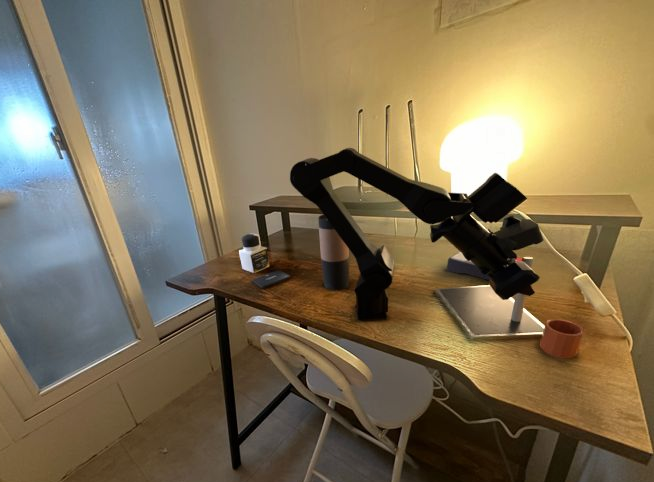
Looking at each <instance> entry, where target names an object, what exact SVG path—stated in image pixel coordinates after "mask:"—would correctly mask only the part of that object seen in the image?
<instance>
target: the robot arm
mask: <svg viewBox="0 0 654 482" xmlns="http://www.w3.org/2000/svg"><path fill="white" fill-rule="evenodd" d="M341 173H346V174H349V175H350V176H353V177H354V178H357V179H358V180H360V181H362V182H364V183H365V184H368V185H369V186H372V187H373V188H375V189H377V190H379V191H381V192H383V193H385V194H387V195H388V196H390V197H392V198H394V199H396V200H397V201H398V202H400V203H401V204H402V205H403V206H404V208H406V209H407V210H408V211H409V212H410V213H412V215H414V216H415V217H417V218H418V219H419V220H420V221H422V222H423V223H424V224H427V225H429V228H430V233H429V236H430V237H429V238H430V241H431V243H433V244H434V243H436V242H437V241H439V240H440V239H441V238H442V237H443V238H444V239H445V240H446V241H447V242H448V243H450V244H451V245H452V246H453V247H454V248H455V249H457V250H458V252H461V253H462V254H463V256H464V257H465V258H466V259H467V260H468V261H471V262H472V263H474V264H475V265H476V266H477V267H478V269H479V270H480V272H481V273H483V274H484V275H485V274H487V276H489V277H491V278H490V280H489V284H488V285H490V286H491V287H492V289H493V290H494V292H495V293H496V294H497V295H498V296H499V297H500V298H501V299H502V300H508V299H509V298H513V297H515V295H516V294H517V293H520V294H523V295H526V297H531V296H533V295H534V294H535V293H536V292H535V290H534V289H533V287H532V285H533V284H535V283H538V281H539V280H540V278H541V276H539V275H538V273H537V272H535V271H534V270H533V268H530V267H529V266H528V265H527V264H526V263H524V262H517V261H516V260H517V257H518V254H517V253H516V252H515V251H519V250H521V249H524V248H528V247H530V246H533V245H538V244H541V243H542V242H543V241H544V237H543V234H542V231H541V229H540V226H539V223H537V222H536V221H534V220H532V219H530V218H528V219H527V218H525V217H523V218H522V219H521V220H520V219H518V218H517V217H516V216H514V215H509V214H510V213H511V212H513V211H515V209H517V208H519V207H520V206H521V205H522V204H524V203H525V202H526V201H528V200H529V198H528V197H527V196H525V194H524V193H523V192H521V191H520V190H519V189H518V188H517V187H516V186H514V185H513V184H512V183H510V182H509V181H507V180H506V179H505V178H503V177H502V175H500V174H499V173H498V172H493V174H491V175H490V176H489V177H488V178H487V179H486V180H485V182H483V183H482V184H481V185H480V186H479V187H477V188H476V189H475V190H474V191H473V192H471V193H470V194H467V193H463V192H450V191H449V192H448V190H446V189H445V188H443V187H442V186H441V187H440V186H437V185H434V184H431V183H429V182H423V181H419V180H414V179H411V178H408V177H406V176H404V175H402V174H401V173H398V172H396V171H394V170H393V169H391V168H389V167H387V166H386V165H383V164H382V163H379V162H377V161H375V160H374V159H372V158H369V157H368V156H366V155H364V154H362V153H360V152H359V151H358V150H357V149H356V148H353V147H346V148H343V149H342V150H340V151H339V152H337V153H334V154H331V155H328V156H325V157H323V158H321V159H318V158H315V157H309V158H305V159H303V160H301V161H300V160H299V161H298V162H296V163H294V164H293V166H292V167H291V169H290V171H289V182H290V184H291V185H292V187H294V190H296V191H297V192H298V193H299V194H300V195H301V196H302V197H303V198H305V199H306V200H307V201H309V202H311V203H313V205H315V206H316V207H317V208H318V209H319V211H320V212H321V213H322V215H323V214H324V216H325V217H326V218H327V220H328V221H329V223H330V224H331V225H332V227H333V228H334V229H335V231H336V232H337V233H338V235H339V236H340V237H341V239H342V240H343V242H344V243H345V244H346V246H347V247H348V248H349V252H350V253H351V254H352V255H353V257H354V258H355V261H356V265H357V268H358V271H359V276H358V279H357V281H356V284H355V287H354V289H353V290H354V293H355V305H354V308H355V313H356V317H357V320H358V321H374V320H375V321H376V320H387V319H388V315H387V313H388V312H389V295H388V294H387V291H386V290H387V289H388V288H390V287H391V285H392V284H393V281H394V272H395V263H394V262H395V257H394V256H392V255H391V254H390V253H389V251H388V250H387V247H386V245H384V244H383V245H381V246H380V247H379V248H378V247H377V246H375V245H374V244H372V242H371V241H370V240H369V238H368V237H367V236H366V234H365V233H364V232H363V230H362V229H361V227H360V225H359V224H358V223H357V222H356V220H355V219H354V217H353V216H352V215H351V213H350V212H349V211H348V209H347V208H346V207H345V205H344V204H343V202H342V201H341V200H340V198H339V196H337V194H336V193H335V191H334V188H333V185H332V181H331V177H333V176H336V175H338V174H341ZM471 214H475V216H476V217H477V218H478V219H480V220H481V221H482V222H483V223H484V224H487V223H490V224H493V223H495V224H497V223H498V222H499V221H501V220H502V219H503V221H502V225H501V227H499V229H498V230H496V231H494V232H493V230H491V229H490V228H486V227H485V226H483V225H482V223H481V222H479V221H478V220H477V219H476V218H475V217H474V216H473V215H471ZM507 215H509V216H507Z"/></svg>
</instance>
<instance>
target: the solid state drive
mask: <svg viewBox="0 0 654 482" xmlns="http://www.w3.org/2000/svg"><path fill="white" fill-rule="evenodd" d="M290 278H291V276H290V275H289V274H288V273H285V272H283V271H282V270H280V269H277V270H274V271H272V272H269V273H267V274H263V275H261V276H259V277H256V278H255V277H254V278H253V279H252V282H253V283H254V284H255V285H257V286H258V287H260V288H261V289H265V288H268V287H270V286H273V285H276V284H278V283H281V282H283V281H286V280H289V279H290Z"/></svg>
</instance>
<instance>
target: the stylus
mask: <svg viewBox="0 0 654 482" xmlns="http://www.w3.org/2000/svg"><path fill="white" fill-rule="evenodd" d="M521 258H522V262H524V263H526V264H527V265H528V266H529V267H530V268H531V269H533V268H532V267H533V264H534V258H533V256H523V257H521ZM526 297H527V295H523V294H520V293H517V294H516V295H514V306H513V311H512V316H511V320H513V321H516V322H520V321H521V319H522V314H523V308H524V309H525V303H526Z"/></svg>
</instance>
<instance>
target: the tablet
mask: <svg viewBox="0 0 654 482" xmlns="http://www.w3.org/2000/svg"><path fill="white" fill-rule="evenodd" d="M434 293H435V294H436V296H437V298H439V299H440V300H441V301H442V303H443V304H444V305H445V306H446V308H447V309H448V310H449V312H450V313H451V314H452V316H453V317H454V319H455V320H456V321H457V322H458V324H459V325H460V327H461V328H462V330H463V331H464V332H465V333H466V335H467V336H468V337H469V339H470V340H471V341H473V340H474V341H475V340H499V339H524V338H525V339H526V338H527V339H528V338H541V337H542V334H543V331H544V327H545V324H543V323H542V322H541V321H539V319H538V318H536V317H535V316H534V315H532V314H531V313H530V312H529V311H528V310H527V309H526V308H525V307H524V308H523V314H522V319H521V321H520V322H516V321H513V320H511V316H512V311H513V306H514V300H515V298H513V297H511V298H509V299H508V300H502V299H501V298H500V297H499V296H498V295H497V294H496V293H495V292H494V290H493V289H492V287H491V286H490V285H489V284H488V285H486V284H485V285H471V286H455V287H439V288H434Z"/></svg>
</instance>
